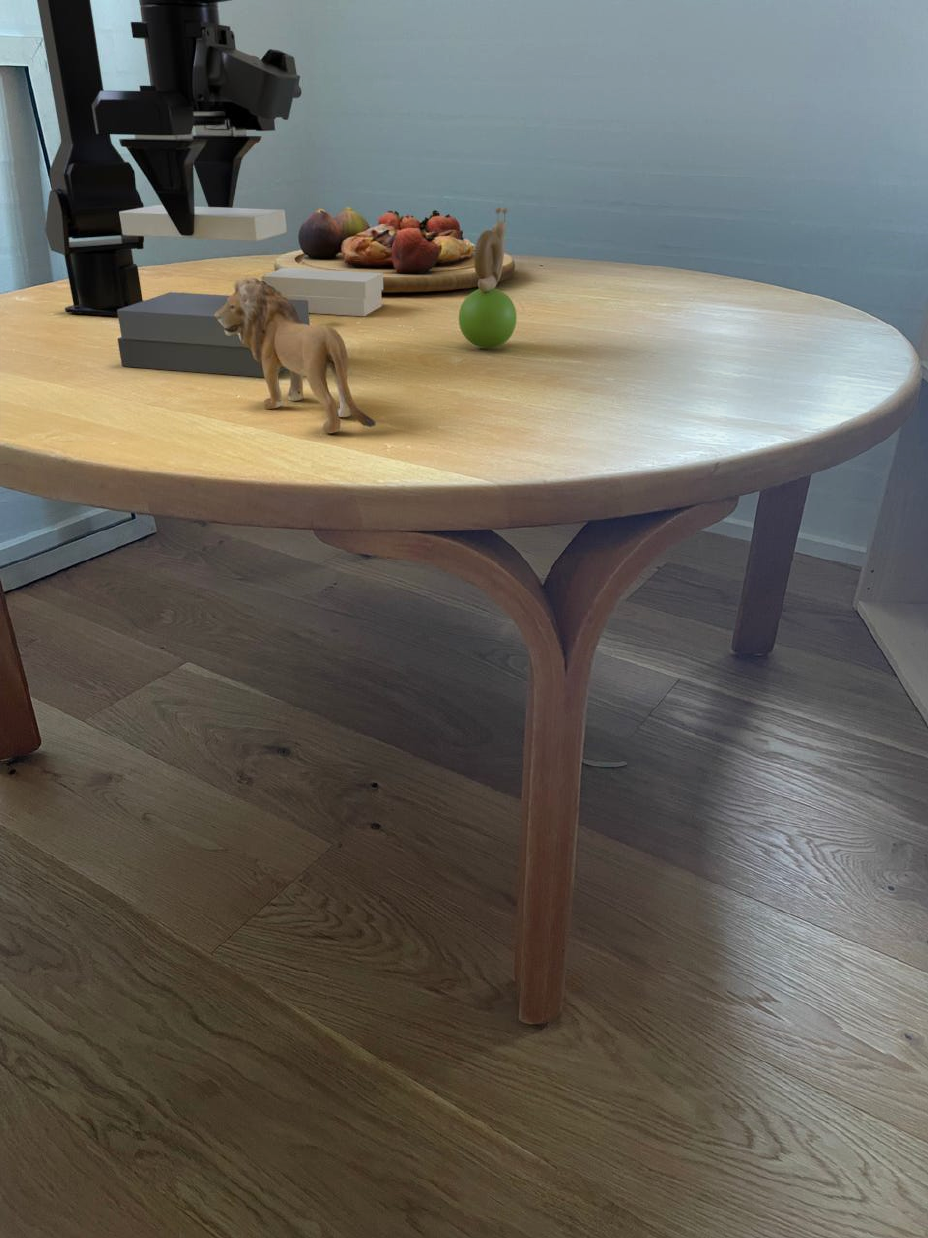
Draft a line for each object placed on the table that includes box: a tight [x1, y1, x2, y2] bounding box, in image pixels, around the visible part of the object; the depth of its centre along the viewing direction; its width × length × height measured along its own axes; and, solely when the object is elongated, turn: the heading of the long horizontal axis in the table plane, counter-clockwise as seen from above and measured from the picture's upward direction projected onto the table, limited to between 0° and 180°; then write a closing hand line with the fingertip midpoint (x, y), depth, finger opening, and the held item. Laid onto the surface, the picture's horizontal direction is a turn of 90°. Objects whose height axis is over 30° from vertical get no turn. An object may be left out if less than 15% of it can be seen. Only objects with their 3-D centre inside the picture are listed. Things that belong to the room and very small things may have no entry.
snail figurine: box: [458, 206, 518, 349], centre depth 85 cm, size 5×6×12 cm
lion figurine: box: [215, 277, 376, 434], centre depth 66 cm, size 15×5×9 cm, turn 50°
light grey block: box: [261, 268, 383, 317], centre depth 103 cm, size 12×6×4 cm, turn 76°
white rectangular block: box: [119, 204, 287, 242], centre depth 77 cm, size 12×6×2 cm, turn 76°
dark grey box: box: [117, 291, 311, 379], centre depth 81 cm, size 14×9×5 cm, turn 76°
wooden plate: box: [273, 206, 516, 293], centre depth 122 cm, size 32×32×8 cm
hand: (205, 230), depth 77 cm, fingers closed on white rectangular block, 6 cm apart
